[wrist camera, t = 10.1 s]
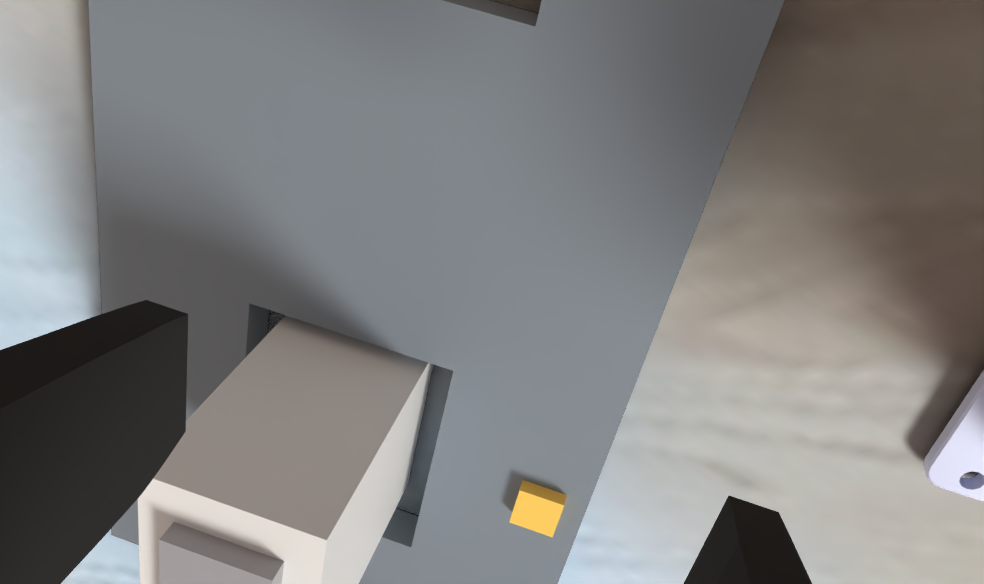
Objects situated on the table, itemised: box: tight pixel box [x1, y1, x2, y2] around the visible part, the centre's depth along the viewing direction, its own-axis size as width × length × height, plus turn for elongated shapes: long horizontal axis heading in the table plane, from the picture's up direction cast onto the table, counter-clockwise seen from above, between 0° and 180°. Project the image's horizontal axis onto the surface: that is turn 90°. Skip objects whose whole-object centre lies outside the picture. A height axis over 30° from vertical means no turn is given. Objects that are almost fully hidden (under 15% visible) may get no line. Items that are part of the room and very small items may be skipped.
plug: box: [138, 315, 433, 584], centre depth 20 cm, size 4×5×8 cm
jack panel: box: [88, 0, 785, 584], centre depth 18 cm, size 14×30×2 cm, turn 168°
